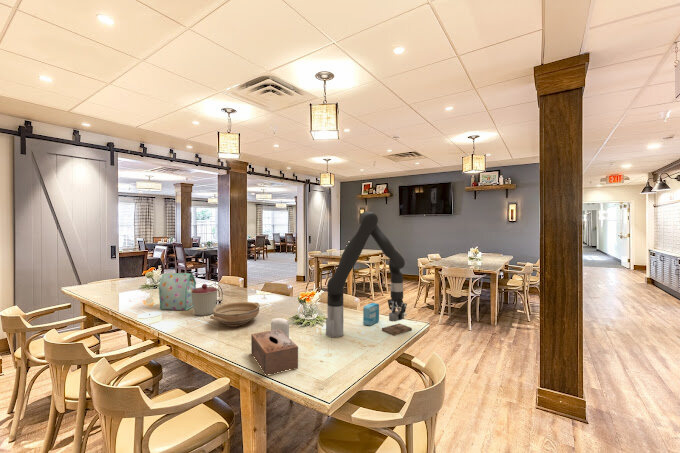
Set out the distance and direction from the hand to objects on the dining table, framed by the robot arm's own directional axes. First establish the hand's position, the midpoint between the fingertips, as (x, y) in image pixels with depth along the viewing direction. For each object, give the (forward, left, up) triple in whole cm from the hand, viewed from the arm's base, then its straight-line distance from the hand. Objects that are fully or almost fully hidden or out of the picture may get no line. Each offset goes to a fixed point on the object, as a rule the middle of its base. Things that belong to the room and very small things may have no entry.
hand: (397, 318), depth 186 cm
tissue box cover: (-76, +6, -8) cm, 77 cm away
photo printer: (-64, +26, -8) cm, 69 cm away
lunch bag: (-99, +131, -8) cm, 164 cm away
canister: (-86, +104, -8) cm, 135 cm away
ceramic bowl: (-74, +70, -8) cm, 102 cm away
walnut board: (0, 0, -7) cm, 7 cm away
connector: (0, 0, -1) cm, 1 cm away
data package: (-4, +19, -8) cm, 21 cm away
